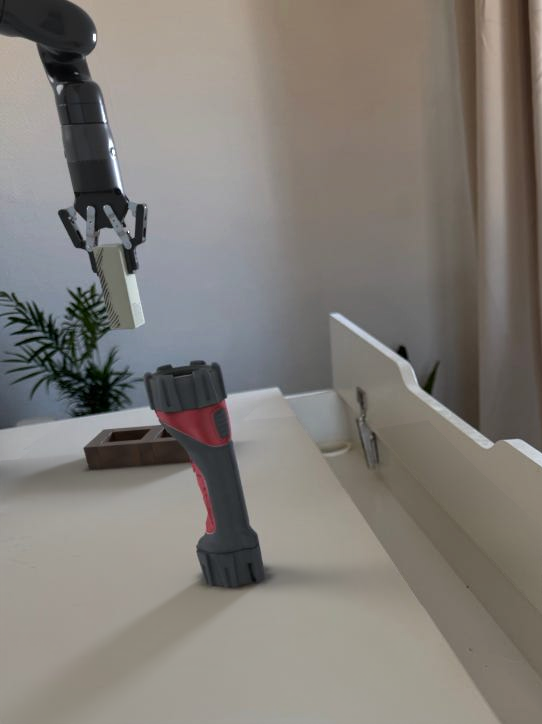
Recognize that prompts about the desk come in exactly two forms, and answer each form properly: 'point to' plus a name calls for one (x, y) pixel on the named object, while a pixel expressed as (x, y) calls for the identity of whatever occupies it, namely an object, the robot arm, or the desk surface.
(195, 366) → the flashlight
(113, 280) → the box
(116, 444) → the socket block
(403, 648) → the desk surface
